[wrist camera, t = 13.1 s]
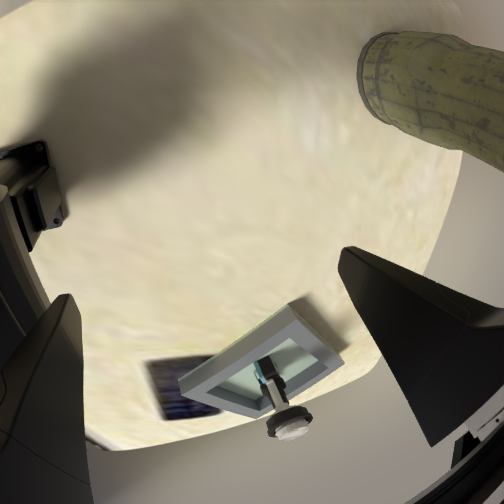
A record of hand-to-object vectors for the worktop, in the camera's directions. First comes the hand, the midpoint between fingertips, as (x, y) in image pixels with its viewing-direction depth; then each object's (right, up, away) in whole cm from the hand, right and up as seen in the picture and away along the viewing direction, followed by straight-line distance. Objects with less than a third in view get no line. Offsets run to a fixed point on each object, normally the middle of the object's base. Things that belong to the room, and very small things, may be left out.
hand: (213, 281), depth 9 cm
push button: (+3, -14, +28) cm, 31 cm away
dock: (+3, -14, +28) cm, 31 cm away
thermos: (+13, +16, +11) cm, 23 cm away
